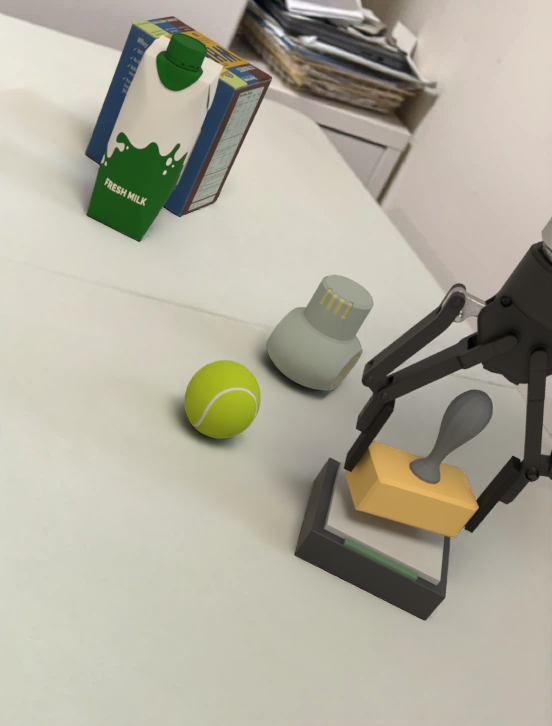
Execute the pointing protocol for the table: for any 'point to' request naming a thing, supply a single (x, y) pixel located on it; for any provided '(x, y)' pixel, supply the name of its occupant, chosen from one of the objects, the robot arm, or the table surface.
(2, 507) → the table surface
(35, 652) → the table surface
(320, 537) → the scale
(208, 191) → the protein box
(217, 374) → the tennis ball
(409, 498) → the rubber stamp
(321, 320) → the air freshener
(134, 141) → the milk carton
